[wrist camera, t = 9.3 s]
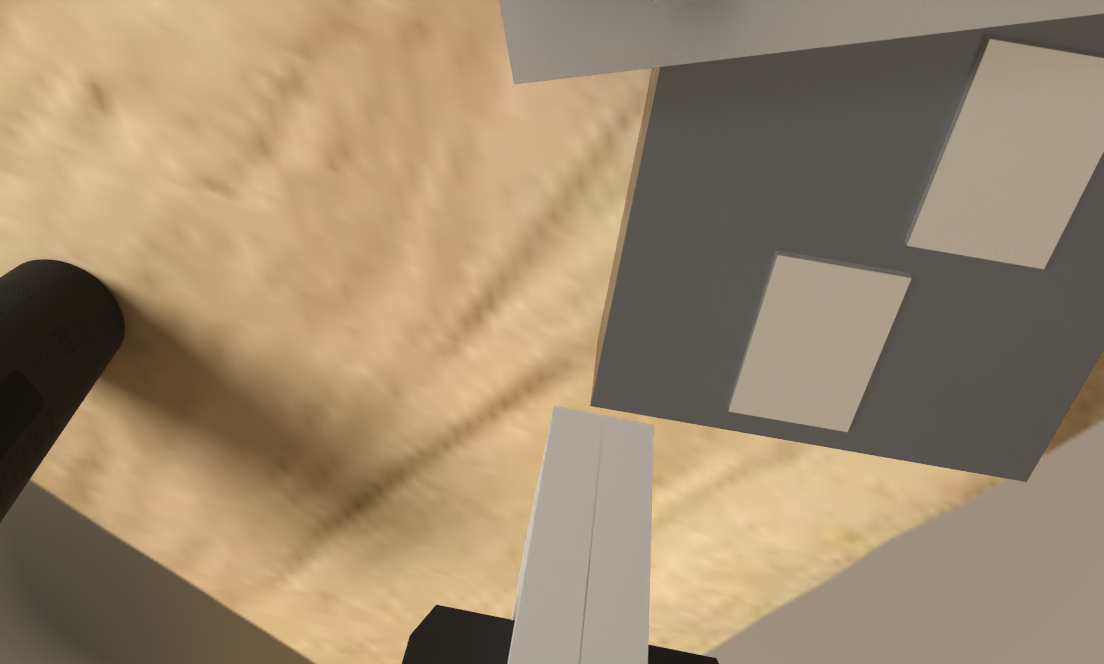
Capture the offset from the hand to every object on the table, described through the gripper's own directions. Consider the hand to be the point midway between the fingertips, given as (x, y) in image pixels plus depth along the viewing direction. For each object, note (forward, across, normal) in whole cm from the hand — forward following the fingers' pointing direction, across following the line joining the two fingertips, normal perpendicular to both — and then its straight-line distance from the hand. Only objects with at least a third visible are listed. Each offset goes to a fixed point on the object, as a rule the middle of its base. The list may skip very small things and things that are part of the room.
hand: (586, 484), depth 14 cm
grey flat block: (+18, +8, +1) cm, 20 cm away
